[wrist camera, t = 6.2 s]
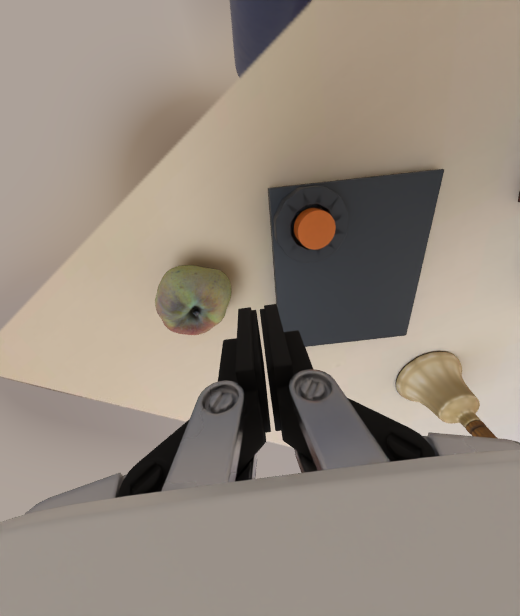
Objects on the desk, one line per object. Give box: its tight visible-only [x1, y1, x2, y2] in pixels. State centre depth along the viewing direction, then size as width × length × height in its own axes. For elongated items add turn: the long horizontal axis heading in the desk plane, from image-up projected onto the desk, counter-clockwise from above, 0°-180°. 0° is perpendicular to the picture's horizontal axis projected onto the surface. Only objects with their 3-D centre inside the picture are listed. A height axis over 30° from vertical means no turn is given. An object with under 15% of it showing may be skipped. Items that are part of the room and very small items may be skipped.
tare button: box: [294, 208, 336, 250], centre depth 18 cm, size 3×3×2 cm
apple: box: [155, 265, 231, 335], centre depth 21 cm, size 6×8×6 cm
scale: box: [268, 169, 444, 347], centre depth 22 cm, size 16×14×3 cm
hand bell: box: [396, 352, 497, 438], centre depth 24 cm, size 8×8×16 cm
